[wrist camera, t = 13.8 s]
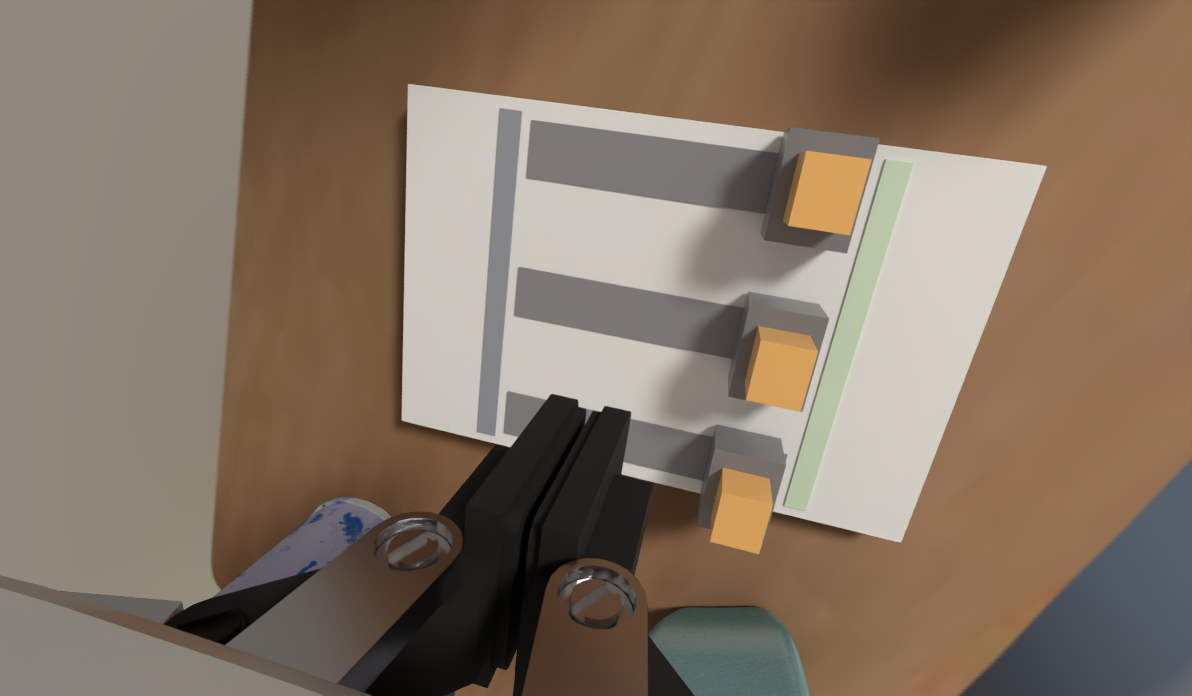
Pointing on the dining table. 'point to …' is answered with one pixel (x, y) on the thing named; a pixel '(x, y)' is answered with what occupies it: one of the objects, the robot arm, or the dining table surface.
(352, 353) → the dining table surface
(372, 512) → the aerosol can
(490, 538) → the robot arm
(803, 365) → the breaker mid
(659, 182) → the panel
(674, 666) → the flower pot
